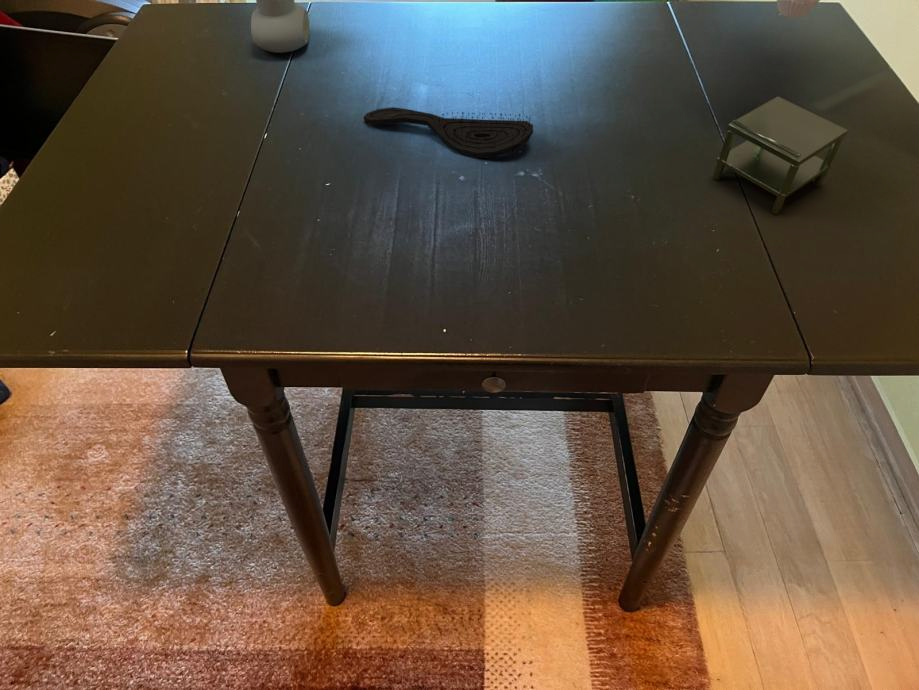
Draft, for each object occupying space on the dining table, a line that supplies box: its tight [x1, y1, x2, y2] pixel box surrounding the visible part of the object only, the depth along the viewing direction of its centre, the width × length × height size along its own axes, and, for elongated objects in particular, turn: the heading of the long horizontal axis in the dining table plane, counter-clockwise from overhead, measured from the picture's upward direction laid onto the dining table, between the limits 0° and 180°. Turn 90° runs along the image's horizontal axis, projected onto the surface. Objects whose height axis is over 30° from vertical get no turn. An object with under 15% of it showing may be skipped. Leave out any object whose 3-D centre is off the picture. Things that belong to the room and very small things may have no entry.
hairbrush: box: [363, 106, 535, 159], centre depth 96 cm, size 8×4×25 cm
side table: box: [712, 96, 849, 216], centre depth 86 cm, size 10×10×9 cm
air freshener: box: [250, 0, 310, 54], centre depth 111 cm, size 11×8×10 cm
